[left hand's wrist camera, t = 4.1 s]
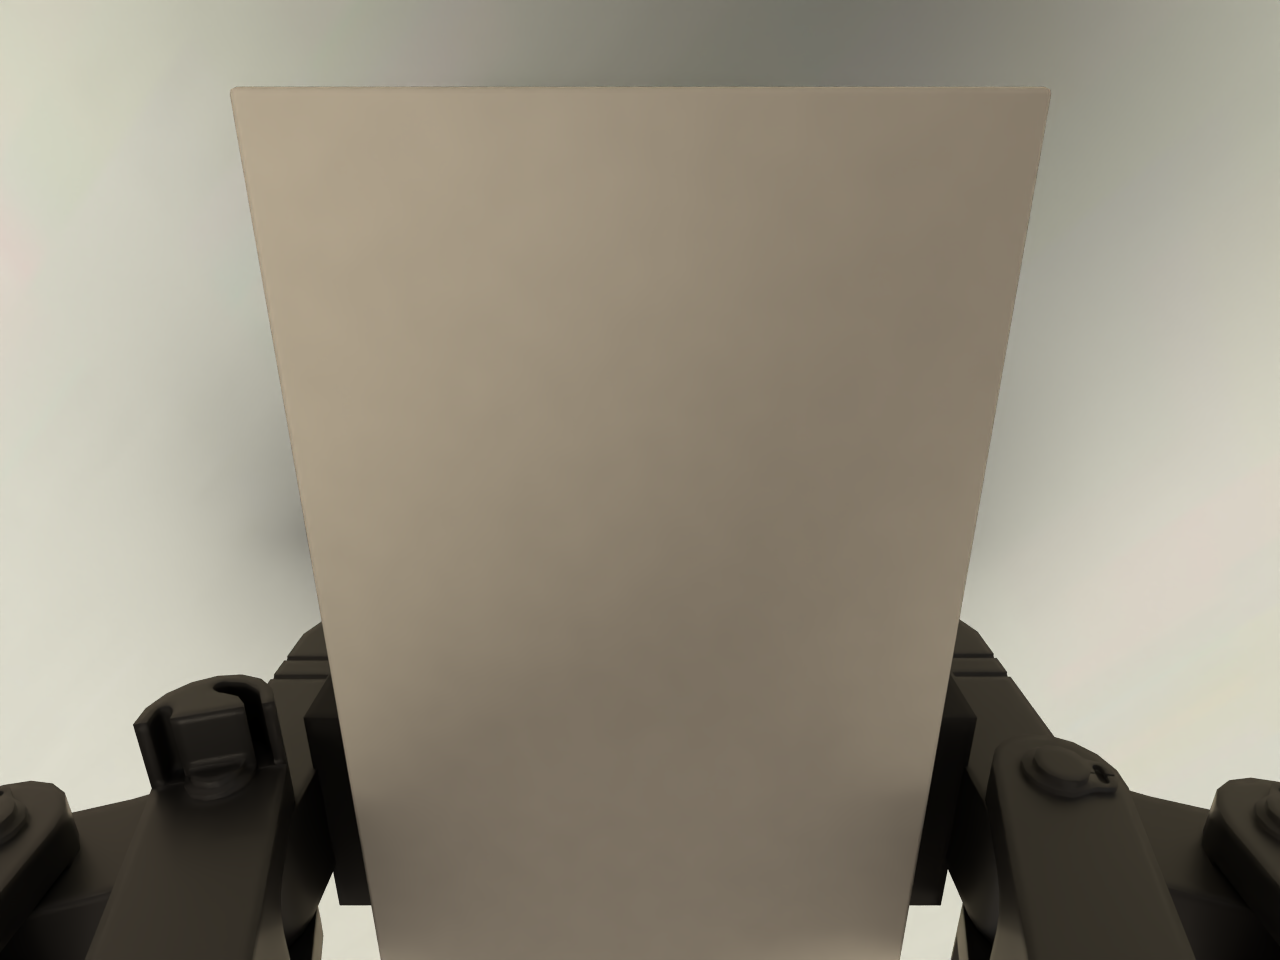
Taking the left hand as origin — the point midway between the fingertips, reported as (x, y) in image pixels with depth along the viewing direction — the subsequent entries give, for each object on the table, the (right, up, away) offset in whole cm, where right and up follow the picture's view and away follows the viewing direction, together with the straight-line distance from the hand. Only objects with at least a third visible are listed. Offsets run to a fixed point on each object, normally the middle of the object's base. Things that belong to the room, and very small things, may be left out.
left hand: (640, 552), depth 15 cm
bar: (0, -25, +11) cm, 27 cm away
